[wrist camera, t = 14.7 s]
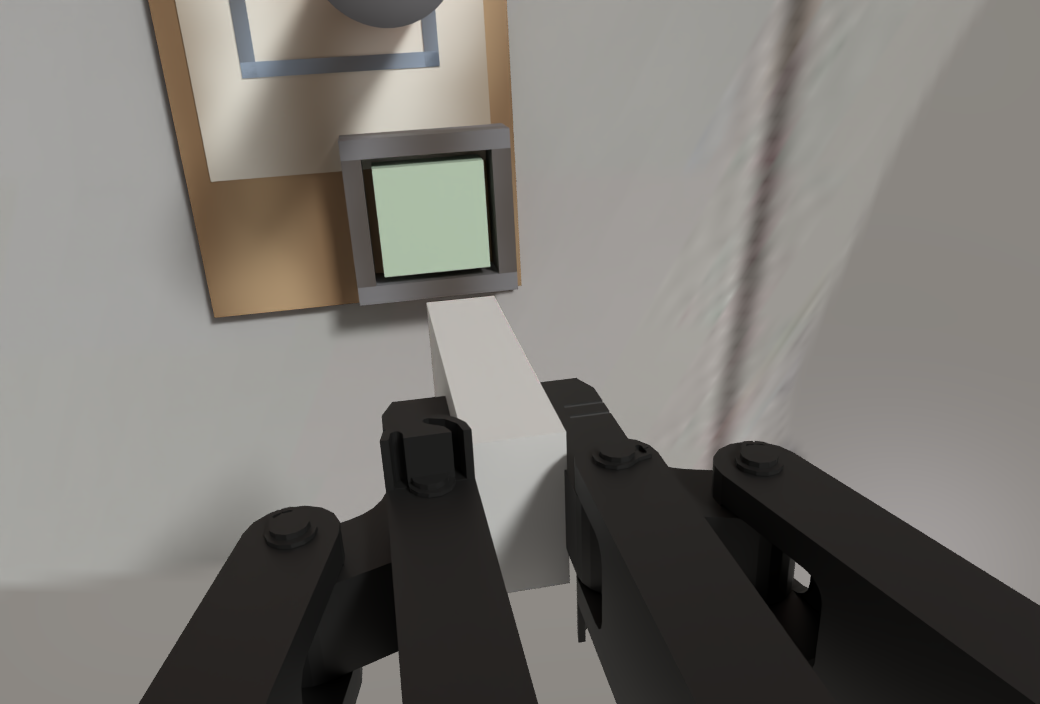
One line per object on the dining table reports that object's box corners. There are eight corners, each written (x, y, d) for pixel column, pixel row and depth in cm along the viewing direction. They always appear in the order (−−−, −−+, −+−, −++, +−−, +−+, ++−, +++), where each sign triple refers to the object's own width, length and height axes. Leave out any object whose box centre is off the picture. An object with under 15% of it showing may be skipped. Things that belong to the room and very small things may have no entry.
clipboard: (216, 313, 36) (206, 333, 34) (108, -211, 29) (85, -232, 26) (519, 281, 38) (529, 298, 36) (492, -215, 31) (503, -235, 28)
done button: (383, 266, 36) (384, 277, 34) (371, 162, 34) (371, 169, 33) (484, 255, 37) (490, 266, 35) (477, 154, 35) (483, 160, 33)
